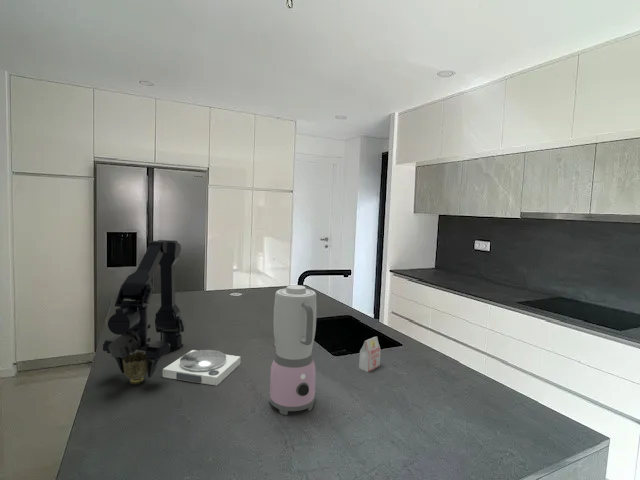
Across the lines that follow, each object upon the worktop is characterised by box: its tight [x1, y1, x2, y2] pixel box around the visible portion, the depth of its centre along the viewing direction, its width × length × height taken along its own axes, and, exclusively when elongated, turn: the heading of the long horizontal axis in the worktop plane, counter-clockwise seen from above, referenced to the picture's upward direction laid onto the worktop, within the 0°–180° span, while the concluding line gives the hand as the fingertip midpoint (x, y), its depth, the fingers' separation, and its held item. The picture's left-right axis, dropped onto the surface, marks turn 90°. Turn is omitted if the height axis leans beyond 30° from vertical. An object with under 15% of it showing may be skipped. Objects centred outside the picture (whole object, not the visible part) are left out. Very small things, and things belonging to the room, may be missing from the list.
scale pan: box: [180, 349, 227, 371], centre depth 118 cm, size 14×14×1 cm
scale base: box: [162, 349, 242, 386], centre depth 118 cm, size 18×16×3 cm
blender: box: [269, 284, 318, 416], centre depth 98 cm, size 16×12×32 cm
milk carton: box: [358, 336, 382, 373], centre depth 125 cm, size 4×7×10 cm, turn 136°
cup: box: [122, 350, 148, 385], centre depth 108 cm, size 8×7×8 cm
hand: (136, 374), depth 109 cm, fingers open, 9 cm apart
